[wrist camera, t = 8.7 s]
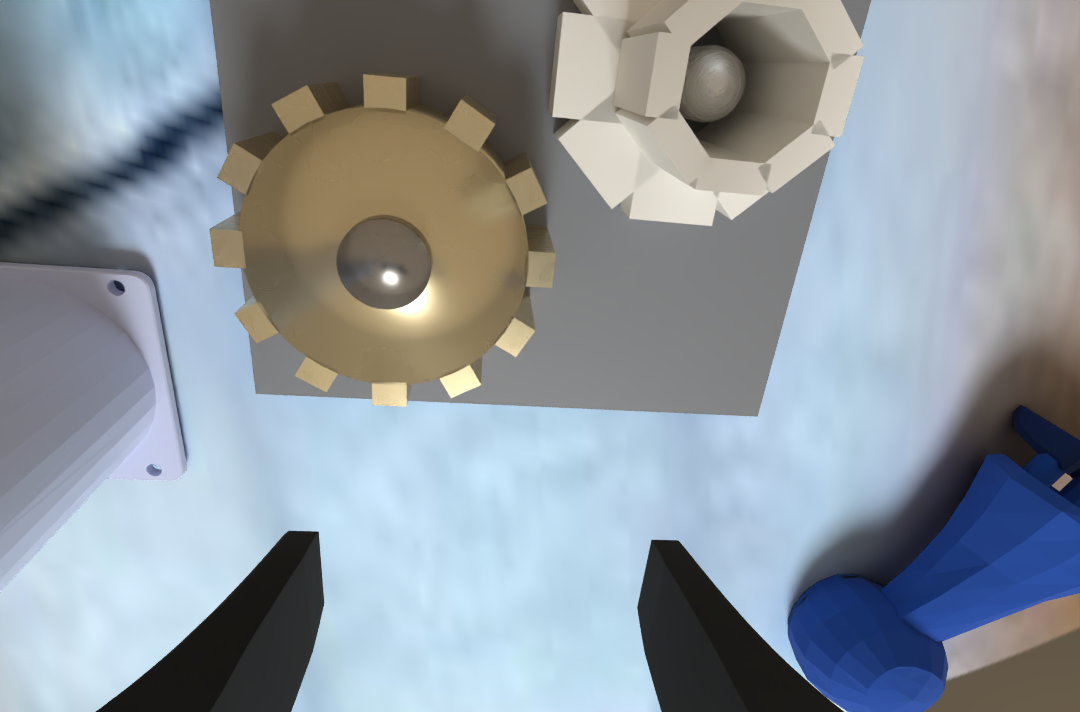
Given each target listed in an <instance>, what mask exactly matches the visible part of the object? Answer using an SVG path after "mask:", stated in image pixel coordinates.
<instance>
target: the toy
mask: <svg viewBox="0 0 1080 712" xmlns="http://www.w3.org/2000/svg"><path fill="white" fill-rule="evenodd" d="M1013 419H1014V427H1015V431H1016V432H1017V433H1018V434H1019V435H1020V436H1021V437H1022V438H1023V439H1024V440H1025V441H1026V442H1027V443H1028V444H1029V445H1030V446H1031V448H1032V449H1033V450H1034V451H1035V452H1037V453H1038V454H1037V455H1036V456H1035V457H1034V458H1033V459H1032V460H1031V461H1029V462H1028V463H1027V464H1026V465H1025V466H1024V467H1023V468H1021V467H1020V466H1019V465H1017V464H1016V463H1015V462H1014V461H1013V460H1011V459H1010V458H1009V457H1008V455H1006V454H988V455H987V456H986V458H985V460H984V462H983V464H982V466H981V468H980V469H979V471H978V473H977V475H976V477H975V479H974V481H973V482H972V484H971V486H970V488H969V490H968V492H967V494H966V495H965V497H964V498H963V500H962V501H961V503H960V504H959V506H958V507H957V509H956V510H955V512H954V513H953V515H952V516H951V518H950V519H949V521H948V522H947V524H946V525H945V527H944V528H943V529H942V530H941V532H940V533H939V534H938V535H937V536H936V537H935V538H934V539H933V540H932V541H931V542H930V543H929V545H928V546H927V547H926V548H925V549H924V550H923V551H922V552H921V553H920V554H919V555H918V556H917V558H916V559H915V560H914V561H913V562H912V563H911V564H910V565H909V566H908V567H907V568H906V569H904V570H903V571H902V572H901V573H900V574H899V575H898V576H897V577H895V578H894V579H893V580H892V581H891V582H890V583H889V584H888V585H886V586H885V587H884V586H883V585H881V584H878V583H876V582H873V581H871V580H869V579H866V578H864V577H861V576H859V575H857V574H851V575H834V576H831V577H829V578H826V579H823V580H821V581H818V582H817V583H816V584H814V585H813V586H812V587H810V588H809V589H808V590H806V591H805V592H804V593H803V594H802V596H801V597H800V598H799V600H798V601H797V602H796V604H795V605H794V607H793V609H792V612H791V614H790V617H789V619H788V638H789V640H790V643H791V646H792V649H793V652H794V655H795V657H796V660H797V662H798V663H799V665H800V667H801V669H802V670H803V672H804V674H805V676H806V678H807V679H808V680H809V681H810V682H811V683H812V684H813V685H814V686H815V687H816V688H817V689H818V690H819V691H820V692H821V693H822V694H823V695H824V696H826V697H827V698H829V699H830V700H831V701H833V702H834V703H836V704H837V705H839V706H840V707H842V708H843V709H845V710H846V711H848V712H924V711H925V710H927V709H928V708H929V707H930V706H932V705H933V704H934V703H935V702H936V701H937V700H938V699H939V698H940V697H941V695H942V693H943V691H944V687H945V682H946V677H947V671H948V662H947V657H946V653H945V649H944V646H943V643H942V641H944V640H947V639H949V638H952V637H955V636H957V635H960V634H962V633H965V632H967V631H970V630H972V629H975V628H977V627H980V626H982V625H985V624H987V623H990V622H993V621H995V620H998V619H1000V618H1003V617H1006V616H1008V615H1011V614H1013V613H1016V612H1018V611H1021V610H1024V609H1026V608H1029V607H1031V606H1034V605H1037V604H1039V603H1042V602H1044V601H1048V600H1052V599H1057V598H1061V597H1065V596H1069V595H1073V594H1077V593H1080V440H1078V439H1076V438H1075V437H1073V436H1072V435H1070V434H1068V433H1067V432H1065V431H1063V430H1062V429H1060V428H1058V427H1057V426H1055V425H1054V424H1052V423H1050V422H1049V421H1047V420H1045V419H1044V418H1042V417H1040V416H1039V415H1037V414H1036V413H1034V412H1032V411H1031V410H1029V409H1027V408H1026V407H1024V406H1022V405H1021V406H1020V407H1019V408H1017V409H1016V410H1015V411H1014V412H1013ZM1064 473H1067V474H1068V475H1070V476H1071V477H1072V478H1073V479H1072V480H1071V481H1070V482H1069V483H1068V484H1067V485H1066V486H1065V487H1064V488H1063V489H1062V490H1061V491H1058V490H1056V489H1055V488H1054V487H1052V485H1053V484H1054V483H1055V482H1056V481H1057V480H1058V479H1059V478H1060V477H1061V476H1062V475H1063V474H1064Z"/></svg>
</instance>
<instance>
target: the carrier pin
mask: <svg viewBox="0 0 1080 712" xmlns="http://www.w3.org/2000/svg"><path fill="white" fill-rule="evenodd" d="M744 88H745V72H744V68H743V65H742V63H741V61H740V60H739V58H738V57H737V56H736V55H735V54H734V53H733V52H732V51H730V50H729V49H727V48H725V47H722V46H717V45H707V46H695V47H690V53H689V58H688V64H687V69H686V75H685V80H684V86H683V91H682V97H681V102H680V108H679V112H680V113H681V115H682V116H683V118H686V119H689V120H693V121H696V122H713V121H717V120H719V119H721V118H723V117H725V116H726V115H728V114H729V113H730V112H731V111H732V110H733V109H734V108H735V107H736V106H737V104H738V103H739V101H740V99H741V97H742V95H743V92H744Z"/></svg>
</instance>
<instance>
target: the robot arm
mask: <svg viewBox="0 0 1080 712" xmlns="http://www.w3.org/2000/svg"><path fill="white" fill-rule="evenodd" d="M114 280H116V281H119V282H121V283H122V284H123V285H124V288H125V292H123V291H120V290H119V289H117V288H116V286H115V284H114ZM152 464H155V465H157V466H159V467H160V468H161V470H159V469H156V468H155V467H153V465H152ZM186 470H187V463H186V457H185V452H184V446H183V441H182V435H181V429H180V424H179V418H178V413H177V407H176V402H175V396H174V391H173V385H172V380H171V374H170V369H169V363H168V358H167V352H166V346H165V341H164V335H163V330H162V324H161V319H160V313H159V308H158V302H157V297H156V291H155V286H154V284H153V281H152V280H151V279H150V277H149V276H148V275H146V274H144V273H143V272H139V271H134V270H118V269H102V268H86V267H70V266H54V265H38V264H22V263H6V262H0V592H1V591H2V590H3V589H4V588H5V587H6V586H7V585H8V584H9V583H10V582H11V581H12V580H13V579H14V577H15V576H16V575H17V574H18V573H19V572H20V571H21V570H22V569H23V568H24V567H25V566H26V565H27V564H28V563H29V561H30V560H31V559H32V558H33V557H34V556H35V555H36V554H37V553H38V552H39V551H40V550H41V549H42V548H43V546H44V545H45V544H46V543H47V542H48V541H49V540H50V539H51V538H52V537H53V536H54V535H55V534H56V533H57V532H58V530H59V529H60V528H61V527H62V526H63V525H64V524H65V523H66V522H67V521H68V520H69V519H70V518H71V517H72V516H73V514H74V513H75V512H76V511H77V510H78V509H79V508H80V507H81V506H82V505H83V504H84V503H85V502H86V501H87V500H88V498H89V497H90V496H91V495H92V494H93V493H94V492H95V491H96V490H97V489H98V488H99V487H100V486H101V485H102V484H103V482H104V481H105V480H106V479H123V480H155V481H175V480H178V479H180V478H181V477H182V476H183V474H184V473H185V472H186ZM323 606H324V595H323V582H322V570H321V557H320V544H319V532H312V531H288V532H287V533H286V534H285V535H283V537H282V538H281V539H280V540H279V541H278V542H277V543H276V545H275V546H274V547H273V548H272V549H271V550H270V551H269V553H268V554H267V555H266V556H265V557H264V558H263V559H262V561H261V562H260V563H259V564H258V565H257V566H256V567H255V568H254V569H253V570H252V572H251V573H250V574H249V575H248V576H247V577H246V578H245V579H244V580H243V581H242V582H241V583H240V584H239V586H238V587H237V588H236V589H235V590H234V591H233V592H232V593H231V594H230V595H229V596H228V597H227V598H226V599H225V600H224V601H223V602H222V603H221V604H220V605H219V606H218V607H217V608H216V609H215V610H214V611H213V612H212V613H211V614H210V615H209V616H208V617H207V618H206V619H205V620H204V621H203V622H202V623H201V624H200V625H199V626H198V627H197V628H196V629H194V630H193V631H192V632H191V633H190V634H189V635H188V636H187V637H186V638H185V639H184V640H183V641H182V642H181V643H180V644H179V645H177V646H176V647H175V648H174V649H173V650H172V651H171V652H170V653H168V654H167V655H166V656H165V657H164V658H163V659H162V660H160V661H159V662H158V663H157V664H156V665H155V666H153V667H152V668H151V669H150V670H149V671H147V672H146V673H145V674H144V675H143V676H141V677H140V678H139V679H138V680H136V681H135V682H134V683H133V684H132V685H130V686H129V687H128V688H126V689H125V690H124V691H122V692H121V693H120V694H119V695H117V696H116V697H115V698H113V699H112V700H111V701H109V702H108V703H107V704H106V705H104V706H103V707H102V708H100V709H99V710H97V711H96V712H291V711H292V708H293V705H294V702H295V700H296V697H297V694H298V691H299V689H300V686H301V683H302V680H303V677H304V675H305V672H306V669H307V666H308V664H309V661H310V658H311V655H312V652H313V648H314V644H315V640H316V636H317V632H318V628H319V624H320V619H321V615H322V611H323ZM637 609H638V615H639V621H640V628H641V634H642V640H643V645H644V651H645V655H646V659H647V663H648V666H649V670H650V673H651V677H652V680H653V684H654V687H655V691H656V694H657V697H658V701H659V704H660V708H661V711H662V712H844V711H842V710H841V709H840V708H839V707H837V706H836V705H835V704H833V703H832V702H831V701H830V700H829V699H827V698H826V697H825V696H824V695H823V694H821V693H820V692H819V691H818V690H817V689H816V688H814V687H813V686H812V685H811V684H810V683H809V682H808V681H807V680H805V679H804V678H803V677H802V676H801V675H800V674H799V673H798V672H797V671H795V670H794V669H793V668H792V667H791V666H790V665H789V664H788V663H787V662H786V661H785V660H784V659H783V658H781V657H780V656H779V655H778V654H777V653H776V652H775V651H774V650H773V649H772V648H771V647H770V646H769V645H768V644H767V643H766V642H765V640H764V639H763V638H762V637H761V636H760V635H759V634H758V633H757V632H756V631H755V630H754V629H753V628H752V627H751V626H750V625H749V624H748V623H747V621H746V620H745V619H744V618H743V617H742V616H741V615H740V614H739V612H738V611H737V610H736V609H735V608H734V607H733V606H732V604H731V603H730V602H729V601H728V600H727V599H726V598H725V596H724V595H723V594H722V593H721V592H720V591H719V589H718V588H717V587H716V586H715V585H714V583H713V582H712V581H711V580H710V579H709V577H708V576H707V575H706V574H705V572H704V571H703V570H702V569H701V568H700V566H699V565H698V564H697V563H696V561H695V560H694V559H693V558H692V556H691V555H690V554H689V553H688V551H687V550H686V549H685V548H684V547H683V545H682V544H681V543H680V542H679V541H676V540H652V541H651V545H650V550H649V555H648V560H647V564H646V569H645V574H644V579H643V583H642V588H641V593H640V598H639V602H638V607H637Z"/></svg>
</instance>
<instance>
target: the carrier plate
mask: <svg viewBox="0 0 1080 712" xmlns="http://www.w3.org/2000/svg"><path fill="white" fill-rule="evenodd" d="M841 2H842V4H843V6H844V8H845V10H846V12H847V14H848V16H849V18H850V20H851V22H852V24H853V26H854V28H855V30H856V32H857V34H858V36H859V37H860V39H861V35H862V32H863V28H864V24H865V21H866V17H867V14H868V10H869V6H870V3H871V0H841ZM210 7H211V16H212V24H213V33H214V41H215V50H216V58H217V67H218V75H219V84H220V92H221V101H222V109H223V118H224V126H225V135H226V143H227V152H228V154H229V152H230V150H231V148H232V146H233V144H234V143H236V142H239V141H243V140H246V139H249V138H253V137H256V136H259V135H262V134H266V133H269V132H272V131H274V132H276V133H277V134H279V135H280V136H282V137H283V138H285V137H286V136H287V135H288V134H289V133H288V131H287V129H286V128H285V126H284V125H283V123H282V121H281V120H280V118H279V116H278V115H277V113H276V112H275V110H274V108H273V107H272V105H271V104H273V103H275V102H276V101H278V100H280V99H282V98H284V97H286V96H288V95H289V94H291V93H293V92H295V91H297V90H299V89H301V88H302V87H304V86H306V85H312V84H321V83H330V82H337V84H338V86H339V88H340V89H341V91H342V93H343V95H344V97H345V98H346V100H347V102H348V104H349V106H350V107H353V106H357V105H361V104H364V85H363V74H372V73H393V74H403V75H414V76H420V104H421V105H425V106H428V107H431V108H435V109H437V110H440V111H442V112H444V113H446V114H448V115H452V114H453V112H454V110H455V109H456V107H457V105H458V104H459V102H460V100H461V99H462V98H463V97H464V96H465V95H466V94H467V95H468V96H470V97H471V98H473V99H474V100H475V101H477V102H478V103H479V104H481V105H482V106H483V107H485V108H486V109H488V110H489V111H490V112H492V113H493V114H494V115H496V124H495V126H494V128H493V129H492V131H491V132H490V134H489V135H488V137H487V139H486V140H485V141H486V142H487V143H488V144H489V145H490V146H491V147H492V148H493V149H494V151H495V152H496V153H497V155H498V156H499V158H500V159H501V160H502V162H503V163H506V162H508V161H510V160H512V159H514V158H516V157H518V156H520V155H522V154H524V153H526V154H527V156H528V158H529V161H530V163H531V165H532V167H533V169H534V172H535V174H536V176H537V178H538V180H539V183H540V185H541V188H542V190H543V193H544V196H545V198H546V201H547V204H545V205H543V206H541V207H539V208H536V209H534V210H532V211H530V212H528V213H526V214H524V215H523V216H524V221H525V225H528V226H542V227H548V231H549V234H550V237H551V240H552V243H553V246H554V249H555V252H556V255H555V265H554V274H553V284H552V288H544V287H529V286H526V288H525V291H524V292H525V293H527V294H528V295H530V298H531V304H532V311H533V318H534V324H535V332H534V333H533V335H532V336H531V337H530V339H529V340H528V342H527V343H526V344H525V346H524V347H523V348H522V350H521V351H520V352H519V354H518V355H517V356H516V357H515V356H513V355H511V354H510V353H508V352H506V351H505V350H503V349H501V348H500V347H498V346H496V345H494V346H493V347H492V348H491V349H489V350H488V351H487V352H486V353H485V354H484V355H483V356H482V377H481V385H480V386H477V387H475V388H473V389H471V390H468V391H466V392H464V393H462V394H459V395H457V396H455V397H453V398H451V397H450V395H449V394H448V392H447V390H446V389H445V387H444V385H443V384H442V382H441V381H440V379H436V380H432V381H428V382H424V383H417V384H412V387H411V391H410V395H409V399H408V401H428V402H450V403H472V404H494V405H517V406H539V407H561V408H583V409H605V410H627V411H649V412H671V413H693V414H716V415H738V416H758V413H759V409H760V405H761V402H762V398H763V394H764V391H765V387H766V383H767V380H768V376H769V372H770V369H771V365H772V361H773V358H774V354H775V350H776V347H777V343H778V339H779V336H780V332H781V328H782V325H783V321H784V317H785V314H786V310H787V306H788V303H789V299H790V295H791V292H792V288H793V284H794V281H795V277H796V274H797V270H798V266H799V263H800V259H801V255H802V252H803V248H804V244H805V241H806V237H807V233H808V230H809V226H810V222H811V219H812V215H813V211H814V208H815V204H816V200H817V197H818V193H819V189H820V186H821V182H822V178H823V175H824V171H825V167H826V164H827V160H828V156H829V153H830V150H829V151H828V152H826V153H825V154H824V155H823V156H821V157H820V158H819V159H817V160H816V161H815V162H813V163H812V164H811V165H809V166H808V167H807V168H805V169H804V170H803V171H801V172H800V173H799V174H798V175H796V176H795V177H794V178H792V179H791V180H790V181H788V182H787V183H786V184H784V185H783V186H782V187H780V188H779V189H778V190H776V191H775V192H774V193H771V192H768V193H767V194H765V195H764V196H763V197H761V198H760V199H759V200H757V201H756V202H755V203H753V204H752V205H751V206H749V207H748V208H747V209H746V210H744V211H743V212H742V213H740V214H739V215H738V216H736V217H735V218H734V219H732V220H731V219H729V218H728V217H726V216H725V215H723V214H722V213H720V212H719V211H717V210H715V214H714V219H713V223H712V226H705V225H694V224H682V223H671V222H660V221H649V220H638V219H629V218H628V217H627V216H626V214H625V213H624V212H623V211H622V210H621V209H620V205H621V202H620V203H619V204H618V205H617V206H615V207H614V208H613V209H611V208H610V206H609V205H608V204H607V203H606V201H605V200H604V199H603V197H602V196H601V195H600V194H599V192H598V191H597V190H596V188H595V187H594V186H593V184H592V183H591V182H590V180H589V179H588V178H587V176H586V175H585V174H584V173H583V171H582V170H581V169H580V167H579V166H578V165H577V163H576V162H575V161H574V159H573V158H572V157H571V155H570V154H569V153H568V152H567V150H566V149H565V148H564V146H563V145H562V144H561V142H560V141H559V140H558V138H557V137H556V136H555V134H554V133H555V132H556V131H557V130H558V129H560V128H561V127H562V126H563V125H564V124H565V123H567V122H568V121H569V120H570V119H569V118H560V117H552V116H551V115H550V114H549V113H548V109H549V99H550V89H551V79H552V69H553V59H554V49H555V39H556V29H557V19H558V15H560V14H561V13H562V12H568V13H577V14H582V13H581V12H580V10H579V9H578V7H577V6H576V4H575V3H574V1H573V0H210ZM707 45H717V46H722V47H725V48H727V49H729V48H728V47H727V45H726V43H725V42H724V40H723V38H722V37H721V35H720V33H719V32H718V30H717V28H716V27H715V25H714V26H713V27H712V28H711V29H710V30H709V31H707V32H706V33H705V34H704V35H703V36H702V37H700V38H699V39H698V40H697V41H696V42H694V43H693V44H692V45H691V47H695V46H707ZM856 54H857V52H856V53H854V54H853V55H855V56H856ZM684 119H685V121H686V122H687V124H688V125H689V127H690V128H691V130H692V131H693V133H694V134H695V135H696V134H697V133H698V132H699V131H701V130H702V129H703V128H704V127H706V126H707V125H708V124H709V123H711V122H696V121H693V120H689V119H686V118H684ZM830 138H831V140H832V141H833V138H834V136H830ZM232 194H233V203H234V211H235V214H236V213H238V212H240V211H241V210H242V206H243V202H244V198H245V194H243V193H242V192H240V191H238V190H237V189H235V188H233V187H232ZM241 271H242V279H243V288H244V296H245V303H246V302H247V301H248V300H249V299H250V298H251V297H252V296H253V293H252V291H251V289H250V287H249V284H248V281H247V278H246V275H245V272H244V269H243V268H241ZM249 339H250V347H251V356H252V364H253V373H254V381H255V390H256V394H273V395H295V396H317V397H340V398H362V399H372V383H369V382H365V381H360V380H355V379H352V378H349V377H346V376H343V375H340V374H338V375H337V376H336V378H335V380H334V381H333V383H332V384H331V386H330V388H329V389H328V391H327V392H325V391H323V390H321V389H319V388H317V387H315V386H313V385H311V384H309V383H307V382H306V381H304V380H302V379H300V378H298V377H296V376H295V374H296V373H297V371H298V369H299V368H300V366H301V364H302V363H303V361H304V359H305V358H306V356H305V355H304V354H302V353H301V352H300V351H298V350H297V349H296V348H294V347H293V346H292V345H291V344H290V343H289V342H288V341H287V340H286V339H285V338H284V337H283V336H282V335H281V334H280V333H277V334H275V335H273V336H271V337H269V338H267V339H265V340H263V341H261V342H259V343H256V342H255V341H254V339H253V338H252V337H251V335H250V334H249Z"/></svg>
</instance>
